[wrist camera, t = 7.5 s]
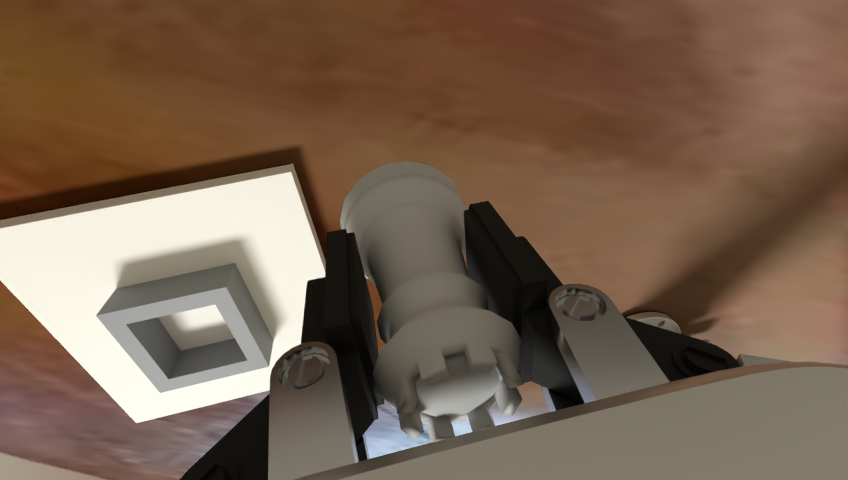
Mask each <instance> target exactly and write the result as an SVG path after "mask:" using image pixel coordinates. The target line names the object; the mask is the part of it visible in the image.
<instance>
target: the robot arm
mask: <svg viewBox="0 0 848 480" xmlns="http://www.w3.org/2000/svg"><path fill="white" fill-rule="evenodd" d="M464 229H465V244H466V260H467V273H468V277H469V278H470V279H472V280H473V281H475V282H477V283H478V284H480V285H481V287H482V289H483V291H484V292H485V294H486V296H487V297H488V311H491V312H493V313H495V314H497V315H498V316H500V317H502V318H504V319H506V320H507V321H509V322H511V323H512V324H513V326H514V328H515V330H516V331H517V333H518V335H519V337H520V338H521V340H522V343H521V358H520V363H519V366H518V369H517V372H518V374H519V376H520V378H521V380H522V382H523V383H525V382H529V381H532V382H534V383H537V384H539V385H541V388H542V393H543V395H544V398H545V401H546V403H547V406H548V409H549V411H550V412H549V413H545V414H541V415H537V416H533V417H529V418H525V419H521V420H518V421H514V422H510V423H506V424H502V425H498V426H494V427H490V428H487V429H483V430H479V431H475V432H471V433H467V434H463V435H460V436H456V437H452V438H448V439H444V440H440V441H436V442H432V443H429V444H425V445H421V446H417V447H413V448H410V449H406V450H402V451H398V452H394V453H391V454H387V455H383V456H379V457H376V458H372V459H369V454H368V449H367V444H366V439H365V436H364V433H365V431H366V430H367V429H368V428H369V426H370V425H371V424H372V423H373V421H374V420H376V419H378V411H377V406H378V405H382V404H384V398H382V397H381V396H380V395H379V394H378V393H377V389H376V385H375V381H374V377H373V371H374V368H375V365H376V362H377V359H378V356H379V355H378V346H377V338H376V330H375V322H374V314H373V307H372V302H371V298H370V294H369V290H368V286H367V282H366V278H365V274H364V270H363V266H362V262H361V258H360V254H359V250H358V246H357V241H356V237H355V234H354V232H352V233H347V230H346V229H342V230H337V231H332V232H327V244H326V270H325V277H322V278H317V279H313V280H309V281H308V282H307V287H306V297H305V307H304V316H303V326H302V336H301V344H300V345H297V346H295V347H293V348H291V349H290V350H288V351H287V352H285V353H284V354H283V355H282V356H281V357H280V358H279V359H278V360H277V361H276V363H275V365H274V366H273V368H272V371H271V375H270V394H269V395H268V396H267V397H265V398H264V399H263V400H262V401H261V402H260V403H259V404H258V405H257V406H256V407H255V408H254V409H253V410H252V411H251V412H249V413H248V414H247V415H246V416H245V417H244V418H243V419H242V420H241V421H240V422H239V423H238V424H237V425H236V426H235V427H234V428H232V429H231V430H230V431H229V432H228V433H227V434H226V435H225V436H224V437H223V438H222V439H221V440H220V441H219V442H218V443H217V444H215V445H214V446H213V447H212V448H211V449H210V450H209V451H208V452H207V453H206V454H205V455H204V456H203V457H202V458H201V459H199V460H198V461H197V462H196V463H195V464H194V465H193V466H192V467H191V468H190V469H189V470H188V471H187V472H186V473H185V474H184V475H183V477H182V478H181V479H180V480H848V365H842V364H830V363H819V362H790V361H784V360H777V359H771V358H764V357H757V356H751V355H744V354H739V356H738V358H737V359H735V358H734V357H733V356H732V355H730V354H729V353H728V352H726V351H725V350H723V349H721V348H720V347H718V346H716V345H713V344H712V343H711V342H710V341H709V340H707V339H705V340H699V339H696V338H693V337H689V336H686V335H683V334H681V330H680V328H679V326H678V325H677V324H676V323H675V322H674V321H673V320H672V319H671V318H670V317H668V316H667V315H665V314H662V313H658V312H645V313H638V314H634V315H630V316H627V317H623V316H622V314H621V313H620V311H619V310H618V309H617V307H616V306H615V304H614V303H613V302H612V300H611V299H610V298H609V297H608V296H607V295H606V294H605V293H603V292H602V291H600V290H598V289H597V288H594V287H591V286H588V285H583V284H567V285H563V284H562V283H561V282H560V280H559V279H558V278H557V277H556V275H555V274H554V273H553V272H552V270H551V269H550V268H549V267H548V265H547V264H546V263H545V262H544V260H543V259H542V258H541V257H540V256H539V254H538V253H537V252H536V251H535V249H534V248H533V247H532V246H531V244H530V243H529V242H528V241H527V239H526V238H524V237H522V236H521V237H515V235H514V234H513V233H512V231H511V230H510V229H509V227H508V226H507V225H506V223H505V222H504V221H503V220H502V218H501V217H500V216H499V214H498V213H497V212H496V210H495V209H494V208H493V206H492V205H491V204H490V203H489V202H488V201H485V202H480V203H475V204H470V206H469V210H464Z"/></svg>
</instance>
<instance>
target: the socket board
mask: <svg viewBox="0 0 848 480" xmlns="http://www.w3.org/2000/svg"><path fill="white" fill-rule="evenodd" d="M325 270H326V260H325V257H324V254H323V251H322V248H321V245H320V242H319V239H318V236H317V233H316V231H315V228H314V225H313V222H312V219H311V216H310V213H309V210H308V207H307V204H306V201H305V198H304V195H303V192H302V189H301V186H300V183H299V180H298V177H297V174H296V171H295V168H294V165H293V164H289V165H284V166H279V167H273V168H268V169H263V170H258V171H253V172H247V173H242V174H237V175H232V176H227V177H221V178H216V179H211V180H206V181H201V182H196V183H190V184H185V185H180V186H175V187H170V188H164V189H159V190H154V191H149V192H144V193H138V194H133V195H128V196H123V197H118V198H112V199H107V200H102V201H97V202H92V203H87V204H81V205H76V206H71V207H66V208H61V209H55V210H50V211H45V212H40V213H35V214H29V215H24V216H19V217H14V218H9V219H4V220H0V280H1V282H2V283H3V284H4V285H5V286H6V287H7V288H8V289H9V290H10V291H11V292H12V293H13V294H14V295H15V296H16V297H17V298H18V299H19V300H20V301H21V302H22V304H23V305H24V306H25V307H26V308H27V309H28V310H29V311H30V312H31V313H32V314H33V315H34V316H35V317H36V318H37V319H38V320H39V321H40V322H41V323H42V325H43V326H44V327H45V328H46V329H47V330H48V331H49V332H50V333H51V334H52V335H53V336H54V337H55V338H56V339H57V340H58V341H59V342H60V343H61V344H62V345H63V347H64V348H65V349H66V350H67V351H68V352H69V353H70V354H71V355H72V356H73V357H74V358H75V359H76V360H77V361H78V362H79V363H80V364H81V365H82V366H83V368H84V369H85V370H86V371H87V372H88V373H89V374H90V375H91V376H92V377H93V378H94V379H95V380H96V381H97V382H98V383H99V384H100V385H101V386H102V387H103V388H104V390H105V391H106V392H107V393H108V394H109V395H110V396H111V397H112V398H113V399H114V400H115V401H116V402H117V403H118V404H119V405H120V406H121V407H122V408H123V409H124V411H125V412H126V413H127V414H128V415H129V416H130V417H131V418H132V419H133V420H134V421H135V422H136V423H139V422H143V421H147V420H151V419H155V418H159V417H163V416H167V415H171V414H175V413H179V412H183V411H187V410H191V409H195V408H200V407H204V406H208V405H212V404H216V403H220V402H224V401H228V400H232V399H236V398H240V397H244V396H248V395H252V394H256V393H260V392H264V391H268V390H270V375H271V371H272V368H273V366H274V365H275V363H276V361H277V360H278V359H279V358H280V357H281V356H282V355H283V354H284V353H285V352H287V351H288V350H290V349H291V348H293V347H295V346H297V345H300V344H301V336H302V326H303V316H304V307H305V297H306V287H307V282H308V281H309V280H313V279H317V278H322V277H325Z"/></svg>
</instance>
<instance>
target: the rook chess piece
mask: <svg viewBox="0 0 848 480" xmlns="http://www.w3.org/2000/svg"><path fill="white" fill-rule="evenodd" d="M464 210H467V209H466V207H465V205H464V203H463V199H462V197H461V195H460V194H459V192H458V190H457V188H456V186H455V184H454V182H453V181H452V180H451V179H450V178H448V177H447V176H446V175H444V174H443V173H442V172H440V171H439V170H438V169H436V168H435V167H433V166H429V165H424V164H420V163H416V162H411V161H406V162H400V163H394V164H387V165H382V166H381V167H379V168H377V169H375V170H374V171H372V172H370V173H369V174H367V175H365V176H364V177H362V178H360V179H359V181H358V182H357V183H356V185H355V186H354V187H353V189H352V190H351V191H350V193H349V194H348V195H347V197H346V198H345V200H344V205H343V209H342V214H341V218H340V224H341V228H342V229H346V230H347V233H352V232H354V234H355V237H356V241H357V246H358V250H359V254H360V258H361V262H362V266H363V270H364V274H365V277H366V278H368V279H369V280H370V281H371V282H372V283H373V284H374V285H376V288H377V290H378V293H379V296H380V298H381V301H382V308H381V311H380V314H379V317H378V320H377V324H378V329H379V333H380V338H381V339H382V340H383V341H384V342H385V343H386V345H385V346H384V347H383V348H382V350H381V351H380V353H379V356H378V359H377V362H376V365H375V368H374V371H373V377H374V381H375V385H376V389H377V393H378V394H379V395H380V396H381V397H382V398H384V399H385V400H386V401H387V402H388V403H389V404H390V405H391V406H392V407H393V408H395V409H396V410H397V414H399V421H400V427H401V430H403V431H404V432H405V433H406V434H407V435H408V436H409V437H410V438H412V439H415V438H416V437H418V436H419V435H421V434H422V433H423V432H424V431H423V426H422V423H424V424H427V428H428V432H429V437H430V442H431V443H432V442H436V441H440V440H444V439H448V438H452V437H455V434H454V431H453V427H452V423H456V422H460V421H465V420H469V422H470V425H471V428H472V431H473V432H475V431H479V430H483V429H487V428H490V427H494V426H495V424H494V421H493V419H492V416H491V413H490V411H489V409H490V408H491V407H492V406H494V405H495V404H496V403H498V405H499V408H500V410H501V413H503V414H509V415H513V414H514V412H515V411H516V409H517V407H518V406H519V404H520V403H521V401H522V398H521V396H520V394H519V391H518V389H517V386H519V385H522V384H523V382H522V380H521V378H520V376H519V374H518V372H517V369H518V366H519V363H520V358H521V343H522V340H521V338H520V337H519V335H518V333H517V331H516V330H515V328H514V326H513V324H512V323H511V322H509V321H507V320H506V319H504V318H502V317H500V316H498V315H497V314H495V313H493V312H491V311H488V297H487V296H486V294H485V292H484V291H483V289H482V287H481V285H480V284H478V283H477V282H475V281H473V280H472V279H470V278H469V277H468V273H467V269H466V265H465V261H464V257H463V256H464V254H465V252H466V244H465V229H464Z"/></svg>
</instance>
